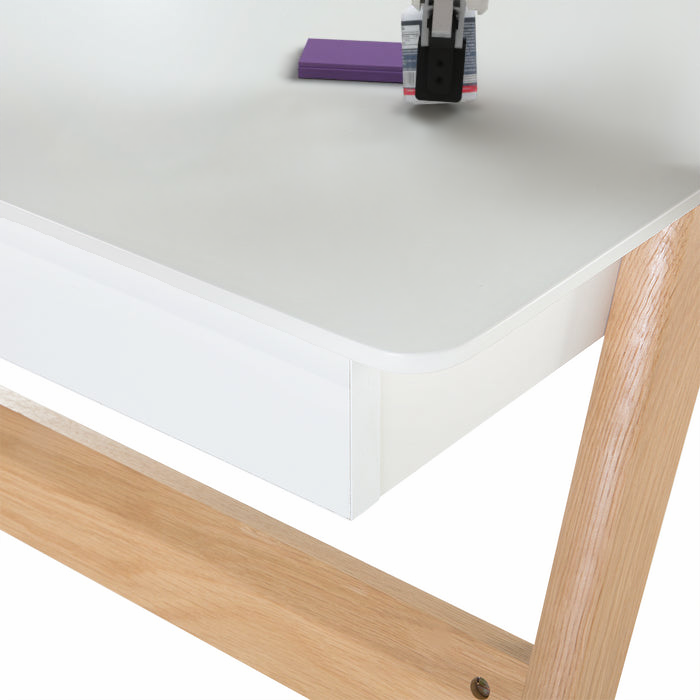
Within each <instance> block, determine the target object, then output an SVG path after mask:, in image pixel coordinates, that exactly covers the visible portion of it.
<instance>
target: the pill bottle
mask: <svg viewBox="0 0 700 700" xmlns="http://www.w3.org/2000/svg"><path fill="white" fill-rule="evenodd" d="M422 15H423V10H422V6H421V10H420V11H418V10H417V9H416V8H415V7H414V6H413V5H412V4H410V5H409V6H407V7H405V8H404V9H403V11H402V12H401V16H400V32H401V43H402V62H403V83H402V88H403V89H402V90H403V91H402V92H403V101H404V102H405V103H406V104H407V105H408V104H409V105H436V104H437V105H438V104H453V103H452V102H436V101H420V100H418V99H416V97H415V84H416V66H417V48H418V41H419V35H421V34H422ZM456 17H457V15H456ZM476 23H477V22H476V10H468V8H467V5H466V12H465V17H464V30H463V38H467V39H466V52H465V65H464V78H463V90H462V99H461V101H460V102H459V103H468V102H473V101H475V100H477V98H478V67H477V27H476V26H477V25H476ZM455 33H456V32H455Z"/></svg>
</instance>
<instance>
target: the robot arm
mask: <svg viewBox="0 0 700 700" xmlns="http://www.w3.org/2000/svg"><path fill="white" fill-rule="evenodd" d="M489 2H490V1H489V0H411V5H413V6H414V7H415V8H416V9H417V10H418V11H420V10H421V6H422V10H423V15H422V34H421V35H419V41H418V48H417V66H416V84H415V97H416V99H418V100H420V101H436V102H452V103H451V104H457V103H461V102H460V101H461V99H462V90H463V78H464V65H465V52H466V39H467V38H463V30H464V17H465V12H466V5H467V8H468V10H474V11H475V12H477V16H482V15H484V13H486V11H488V10H489ZM456 15H457V17H456ZM455 32H456V33H455Z"/></svg>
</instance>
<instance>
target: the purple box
mask: <svg viewBox="0 0 700 700" xmlns="http://www.w3.org/2000/svg"><path fill="white" fill-rule="evenodd" d="M297 78H299V79H300V78H301V79H318V80H322V79H324V80H338V81H339V80H340V81H341V80H342V81H362V82H379V83H381V82H382V83H399V84H400V83H401V84H403V62H402V41H401V42H398V41H380V40H379V41H376V40H357V39H355V40H354V39H334V38H333V39H332V38H313V37H312V38H311V37H308V38H307V40H306V42H305V45H304V47H303V50H302V52H301V55H300V57H299V60H298V61H297Z"/></svg>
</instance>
